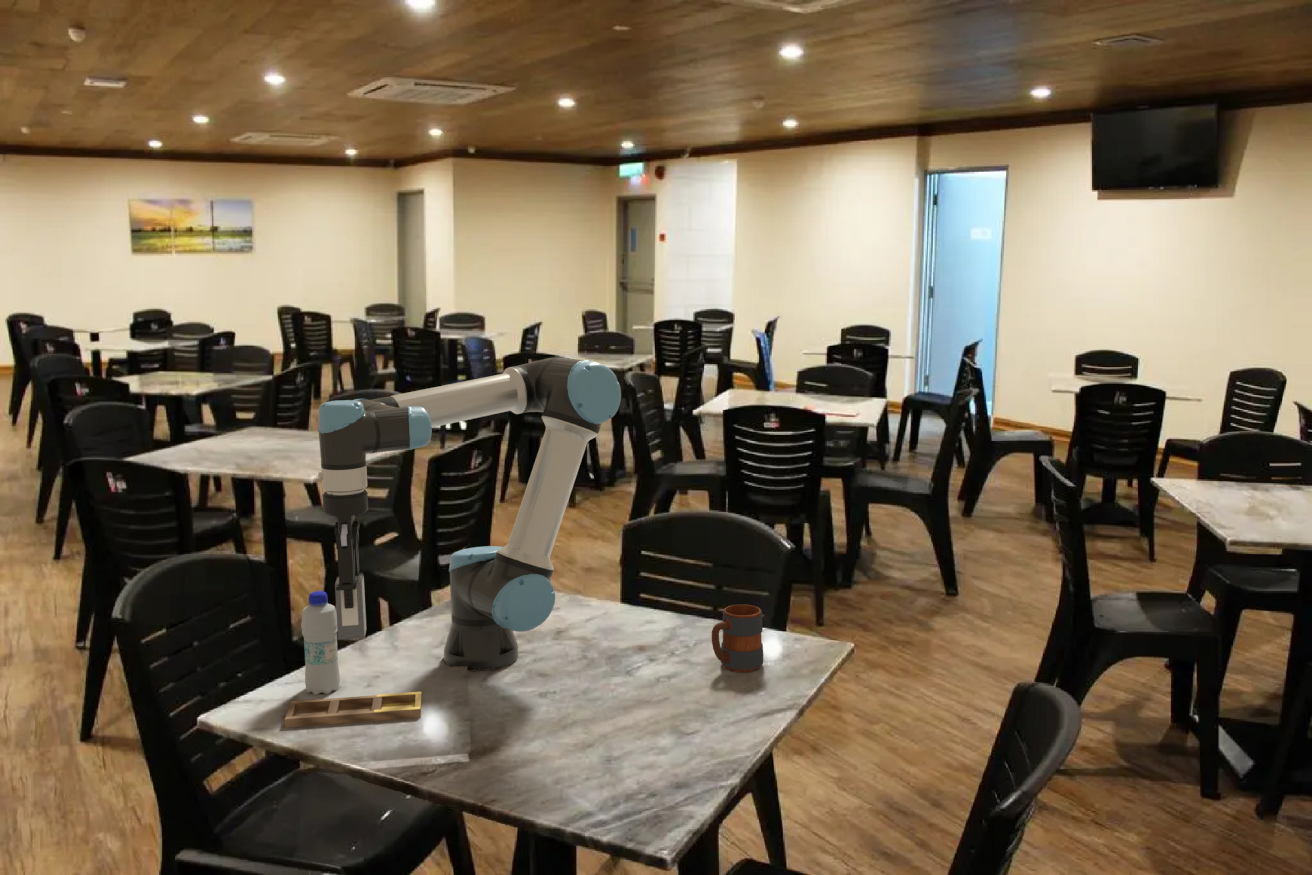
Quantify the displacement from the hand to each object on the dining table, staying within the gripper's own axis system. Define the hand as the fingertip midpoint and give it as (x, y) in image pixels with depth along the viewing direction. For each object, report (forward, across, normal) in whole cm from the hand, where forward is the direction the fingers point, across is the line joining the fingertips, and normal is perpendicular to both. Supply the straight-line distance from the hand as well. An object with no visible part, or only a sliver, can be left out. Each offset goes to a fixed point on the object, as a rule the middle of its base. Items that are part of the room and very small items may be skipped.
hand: (351, 619), depth 195 cm
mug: (+19, -11, +73) cm, 76 cm away
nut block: (+3, 0, 0) cm, 3 cm away
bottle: (+19, -13, -7) cm, 24 cm away
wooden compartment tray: (+18, 0, 0) cm, 18 cm away
